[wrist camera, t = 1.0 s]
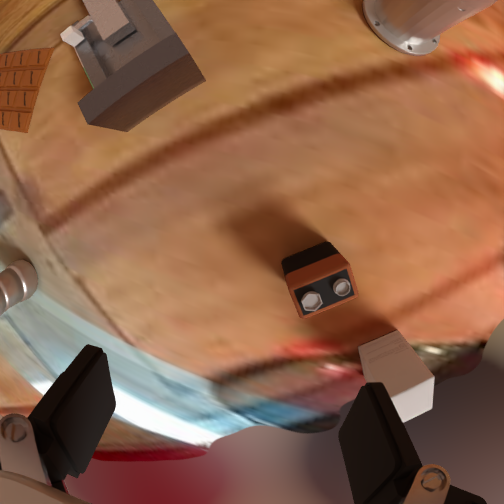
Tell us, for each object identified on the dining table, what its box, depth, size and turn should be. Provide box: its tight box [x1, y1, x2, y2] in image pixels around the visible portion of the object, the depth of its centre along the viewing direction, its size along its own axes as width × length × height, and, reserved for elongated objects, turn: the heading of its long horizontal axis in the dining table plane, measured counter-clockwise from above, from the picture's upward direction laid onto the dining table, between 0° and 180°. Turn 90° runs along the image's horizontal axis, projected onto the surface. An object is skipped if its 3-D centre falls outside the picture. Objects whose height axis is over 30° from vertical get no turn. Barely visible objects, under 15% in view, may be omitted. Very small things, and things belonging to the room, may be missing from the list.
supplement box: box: [358, 330, 434, 422], centre depth 36 cm, size 7×7×13 cm
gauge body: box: [72, 0, 206, 132], centre depth 25 cm, size 12×20×10 cm, turn 29°
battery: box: [282, 242, 358, 319], centre depth 33 cm, size 4×7×10 cm, turn 113°
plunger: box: [74, 0, 136, 46], centre depth 23 cm, size 10×18×6 cm, turn 29°
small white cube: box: [60, 25, 85, 47], centre depth 24 cm, size 2×2×3 cm
